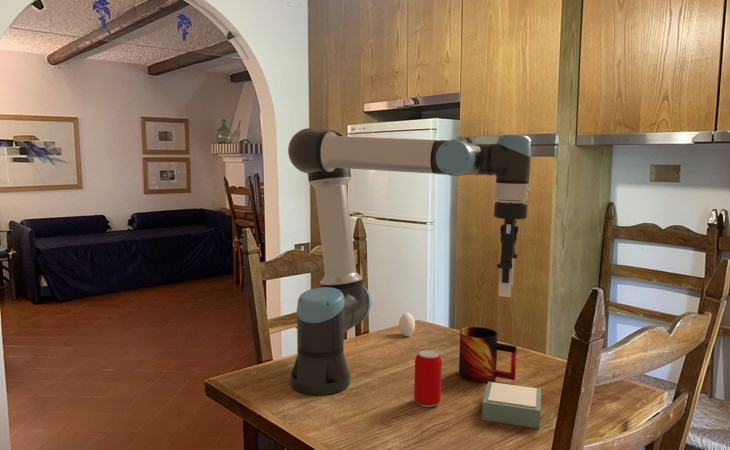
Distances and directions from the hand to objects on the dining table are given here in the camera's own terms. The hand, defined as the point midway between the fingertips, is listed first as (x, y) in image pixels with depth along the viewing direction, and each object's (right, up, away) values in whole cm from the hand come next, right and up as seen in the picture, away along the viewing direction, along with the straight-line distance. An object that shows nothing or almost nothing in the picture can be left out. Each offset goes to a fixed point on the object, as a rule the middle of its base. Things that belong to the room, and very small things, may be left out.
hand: (505, 290), depth 127 cm
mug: (-2, -25, +13) cm, 28 cm away
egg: (-20, -21, +46) cm, 55 cm away
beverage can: (-19, -26, -3) cm, 33 cm away
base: (-1, -27, -8) cm, 28 cm away
